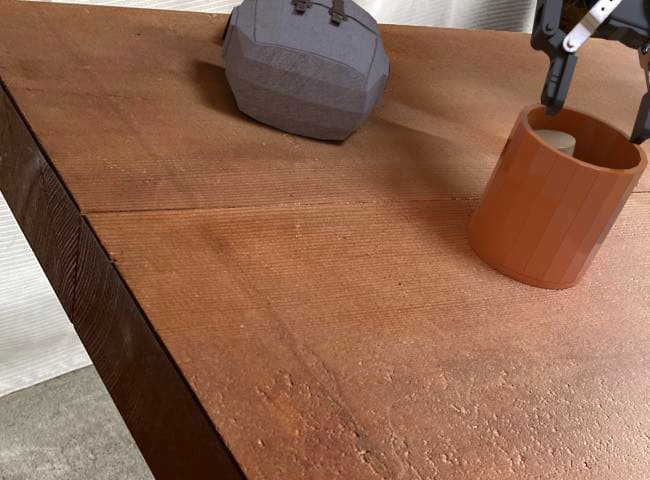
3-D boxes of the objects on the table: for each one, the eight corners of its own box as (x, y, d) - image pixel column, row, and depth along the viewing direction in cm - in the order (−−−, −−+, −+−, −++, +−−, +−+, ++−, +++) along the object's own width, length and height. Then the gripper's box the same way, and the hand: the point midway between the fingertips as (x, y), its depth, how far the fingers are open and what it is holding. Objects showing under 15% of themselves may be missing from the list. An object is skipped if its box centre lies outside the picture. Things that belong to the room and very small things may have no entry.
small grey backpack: (371, 160, 85) (374, 69, 99) (405, 64, 79) (403, -19, 93) (202, 111, 84) (228, 26, 97) (224, 9, 78) (249, -66, 91)
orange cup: (578, 239, 85) (639, 129, 77) (588, 303, 78) (656, 188, 70) (466, 204, 84) (518, 89, 77) (466, 265, 77) (522, 145, 70)
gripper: (591, -166, 67) (520, 73, 67) (786, -99, 68) (716, 137, 68) (551, -99, 74) (487, 116, 75) (727, -39, 75) (664, 173, 76)
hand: (596, 125), depth 71 cm, fingers open, 6 cm apart
